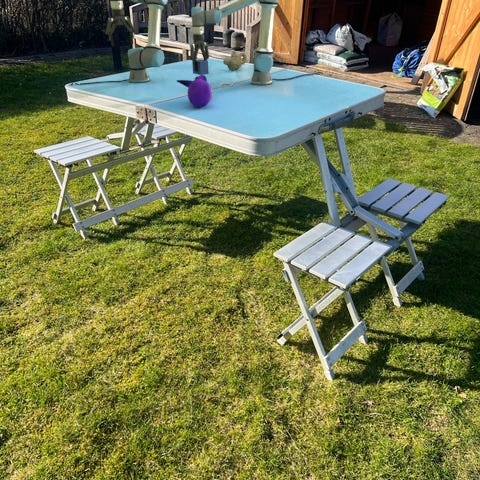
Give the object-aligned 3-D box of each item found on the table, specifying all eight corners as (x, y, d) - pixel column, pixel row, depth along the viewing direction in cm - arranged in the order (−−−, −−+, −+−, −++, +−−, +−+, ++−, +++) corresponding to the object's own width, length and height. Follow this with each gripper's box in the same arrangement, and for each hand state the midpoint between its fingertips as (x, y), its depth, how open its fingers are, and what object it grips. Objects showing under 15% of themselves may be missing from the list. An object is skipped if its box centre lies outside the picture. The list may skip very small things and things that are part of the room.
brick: (200, 75, 302) (200, 61, 298) (192, 73, 308) (192, 60, 304) (208, 73, 306) (208, 60, 302) (200, 72, 312) (200, 59, 308)
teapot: (227, 72, 362) (226, 52, 355) (220, 70, 371) (219, 51, 363) (249, 69, 371) (249, 50, 364) (242, 67, 380) (242, 48, 372)
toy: (200, 97, 287) (212, 112, 266) (174, 93, 280) (184, 108, 259) (206, 72, 279) (218, 86, 258) (178, 67, 272) (189, 80, 251)
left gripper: (101, 9, 272) (107, 47, 283) (138, 7, 286) (142, 43, 297) (96, 9, 277) (102, 46, 288) (132, 7, 291) (136, 42, 302)
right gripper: (189, 35, 286) (191, 73, 298) (213, 32, 297) (215, 69, 309) (182, 34, 291) (185, 71, 303) (206, 32, 302) (208, 68, 314)
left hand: (122, 45), depth 292 cm, fingers open, 13 cm apart
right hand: (200, 70), depth 306 cm, fingers closed on brick, 7 cm apart
